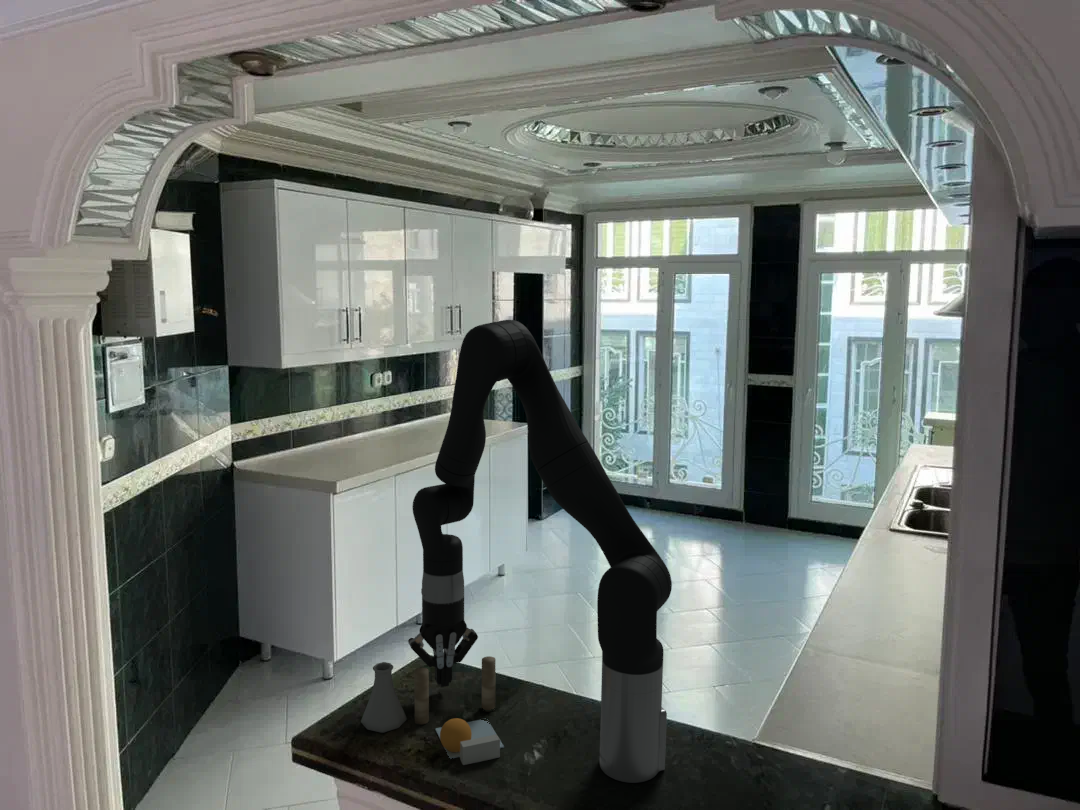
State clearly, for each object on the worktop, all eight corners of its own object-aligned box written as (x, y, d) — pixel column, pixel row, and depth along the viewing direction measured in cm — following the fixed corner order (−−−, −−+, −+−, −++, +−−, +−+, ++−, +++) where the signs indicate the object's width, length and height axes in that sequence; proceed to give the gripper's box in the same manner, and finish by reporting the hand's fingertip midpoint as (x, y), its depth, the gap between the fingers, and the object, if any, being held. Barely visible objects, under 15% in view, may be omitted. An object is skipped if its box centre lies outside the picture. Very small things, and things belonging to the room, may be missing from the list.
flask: (382, 738, 129) (381, 681, 128) (353, 723, 134) (351, 667, 132) (414, 720, 135) (413, 664, 134) (385, 706, 139) (384, 652, 138)
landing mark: (486, 719, 135) (486, 718, 135) (504, 747, 127) (504, 746, 127) (435, 729, 132) (435, 728, 132) (449, 759, 124) (449, 757, 124)
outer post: (427, 715, 136) (426, 666, 135) (430, 722, 134) (430, 672, 133) (413, 718, 135) (412, 668, 134) (416, 725, 133) (415, 675, 132)
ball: (467, 709, 127) (473, 738, 123) (469, 723, 130) (475, 753, 126) (436, 716, 126) (441, 746, 122) (438, 731, 129) (444, 761, 125)
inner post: (492, 703, 141) (492, 655, 139) (497, 710, 138) (497, 661, 137) (479, 705, 140) (479, 657, 139) (484, 712, 138) (484, 663, 136)
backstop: (496, 751, 126) (496, 734, 125) (499, 757, 124) (499, 739, 124) (460, 759, 124) (460, 741, 123) (463, 765, 122) (463, 747, 122)
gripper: (411, 606, 136) (412, 701, 138) (484, 596, 141) (484, 688, 143) (401, 591, 143) (403, 681, 145) (472, 582, 148) (472, 669, 150)
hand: (443, 684), depth 144 cm, fingers closed
